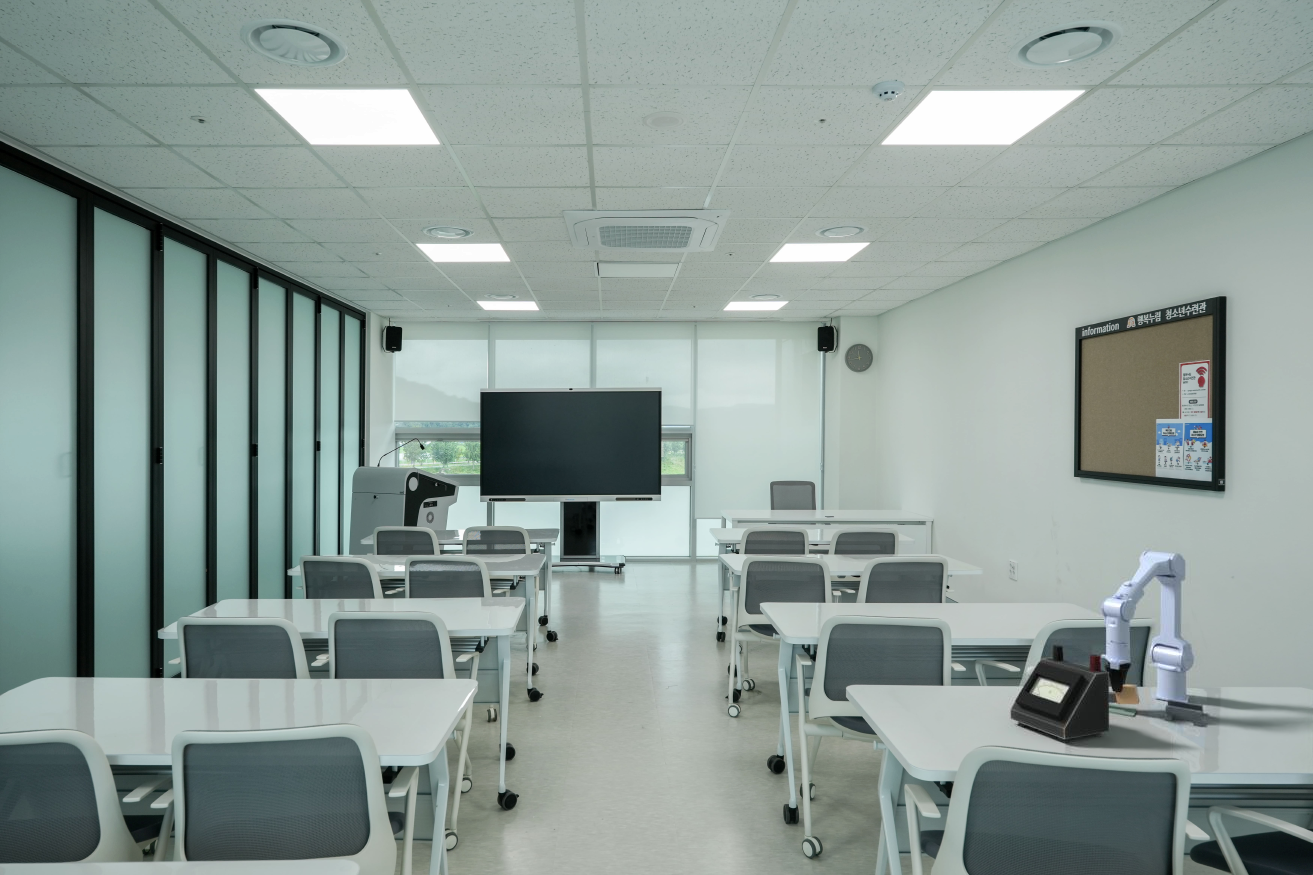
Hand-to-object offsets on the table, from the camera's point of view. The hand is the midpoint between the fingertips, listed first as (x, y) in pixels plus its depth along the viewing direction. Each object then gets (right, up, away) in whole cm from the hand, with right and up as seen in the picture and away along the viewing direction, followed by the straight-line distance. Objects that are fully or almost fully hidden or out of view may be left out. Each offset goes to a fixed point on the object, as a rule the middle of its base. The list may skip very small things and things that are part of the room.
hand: (1118, 689), depth 214 cm
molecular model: (-21, -6, +1) cm, 22 cm away
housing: (+15, -6, -5) cm, 17 cm away
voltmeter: (-26, -5, -18) cm, 32 cm away
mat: (0, -6, 0) cm, 6 cm away
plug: (-1, -4, +1) cm, 4 cm away
